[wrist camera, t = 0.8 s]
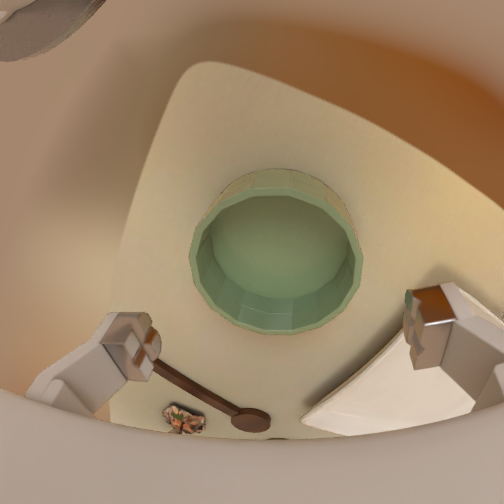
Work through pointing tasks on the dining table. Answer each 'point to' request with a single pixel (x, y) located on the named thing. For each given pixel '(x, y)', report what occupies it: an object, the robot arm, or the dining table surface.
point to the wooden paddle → (216, 401)
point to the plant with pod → (183, 420)
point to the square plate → (394, 391)
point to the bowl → (277, 253)
